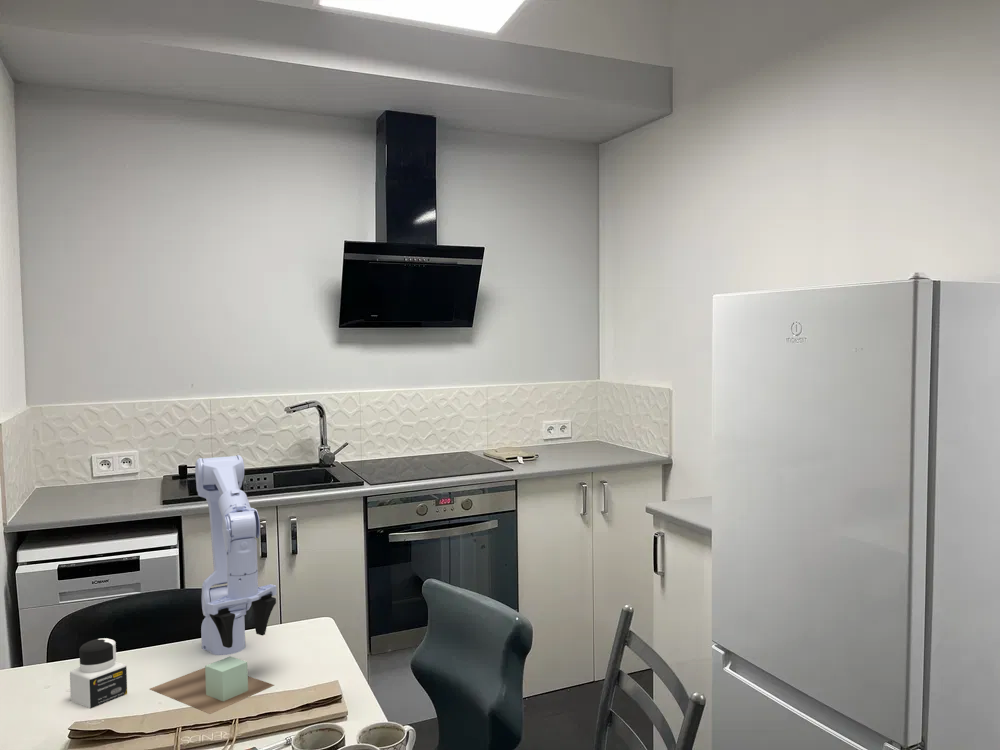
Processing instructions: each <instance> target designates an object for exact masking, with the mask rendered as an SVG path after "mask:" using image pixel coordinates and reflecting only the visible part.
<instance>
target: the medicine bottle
mask: <svg viewBox="0 0 1000 750" xmlns="http://www.w3.org/2000/svg"><path fill="white" fill-rule="evenodd" d="M116 643H117V642H116V641H115V640H114V639H111V638H107V637H106V638H105V637H104V638H96V639H92V640H89V641H86V642H85V643H83V644H82V645H81V646H80V647H79V667H77V668H73V669H72V670H70V671H69V687H70V688H69V689H70V691H69V692H70V701H71V702H73V703H75V704H78V705H81V706H83V707H86V708H88V709H93V708H96V707H99V706H100V705H103V704H105V703H108V702H110V701H113V700H116V699H118V698H121V697H123V696H127V695H128V676H127V675H128V673H127V672H128V671H127V664H125V663H121V662H119V661H116V660H117V648H116V647H117V646H116V645H117V644H116Z"/></svg>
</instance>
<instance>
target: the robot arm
mask: <svg viewBox="0 0 1000 750" xmlns="http://www.w3.org/2000/svg"><path fill="white" fill-rule="evenodd" d="M194 468H195V470H194V471H195V483H196V484H195V485H196V492H197V495H198V497H200V498H204V499H206V503H207V507H208V511H209V512H208V513H209V527H210V535H211V536H210V537H211V551H212V562H213V563H212V564H213V572H212V573H210V575H209V576H208V577H206V578H204V580H203V582H202V584H201V609H202V614H203V617H204V619H202V623H201V626H200V627H201V628H200V629H201V630H200V633H201V640H200V641H201V649H202V650H204V651H207V652H210V654H211V655H215V656H229V655H233V654H237V653H239V652H242V651H243V650H245V648H246V629H245V627H246V626H245V615H247V611H249V610H250V608H251V606H252V609H253V614H254V628H255V634H256V635H259V636H262V637H263V636H264V635H266V632H267V627H268V622H269V619H270V616H271V613H272V611H273V609H274V607H275V606H276V604H277V598H276V597H274V596H276V595H277V585H276V584H271V583H270V584H266V585H262V586H259V580H258V579H259V572H258V571H259V570H258V541H257V539H259V538H260V532H261V521H260V516H259V512H258V510H257V509H256V508H254V507H251V504H250V501H249V498H248V495H247V493H246V492H245V491H244V490H242V489H241V488H242V486H243V482H244V478H245V462H244V459H243V456H241V455H240V454H237V455H231V456H230V455H229V456H218V457H217V456H216V457H203V458H202V457H199V458H197V460H196V461H195V465H194ZM219 585H220V586H219ZM214 586H215V587H214Z"/></svg>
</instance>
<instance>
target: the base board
mask: <svg viewBox="0 0 1000 750" xmlns="http://www.w3.org/2000/svg"><path fill="white" fill-rule="evenodd" d="M274 686H275V684H273V683H270V682H266V681H263V680H262V679H258V678H256V677H252V676H249V675H248V691H246V692H244V693H242V694H239V695H237V696H235V697H232V698H230V699H228V700H226V701H221V700H218V699H215V698H213V697H210V696H208V695H206V675H205V667H203V668H202V667H201V668H200V669H197V670H195V671H192V672H190V673H187V674H184V675H182V676H179V677H177V678H174V679H171V680H169V681H166V682H162V683H161V684H159V685H156V686H153V687H150V688H149V691H153V692H155V693H157V694H159V695H162V696H165V697H168V698H169V699H173V700H174V701H177V702H180V703H182V704H184V705H186V706H187V705H188V706H190V707H192V708H194V709H197V710H199V711H202V712H203V713H207V714H209V715H211V714H213V713H215V712H218V711H220V710H222V709H225V708H227V707H230V706H231V705H234V704H236V703H238V702H240V701H243V700H245V699H247V698H249V697H252V696H254V695H257V694H258V693H261V692H262V691H266V690H267V689H269V688H271V687H274Z"/></svg>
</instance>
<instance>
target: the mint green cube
mask: <svg viewBox="0 0 1000 750" xmlns="http://www.w3.org/2000/svg"><path fill="white" fill-rule="evenodd" d="M204 668H205V675H206V695H208V696H210V697H213V698H215V699H218V700H221V701H226V700H228V699H230V698H232V697H235V696H237V695H239V694H242V693H244V692H246V691H248V676H249V675H248V674H249V673H248V670H249V669H248V661H245V660H244V659H243V660H242V659H239V658H236V657H233V656H231V655H230V656H227V657H225V658H223V659H220V660H217V661H215V662H211V663H209V664H206V665H205V666H204Z"/></svg>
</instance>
